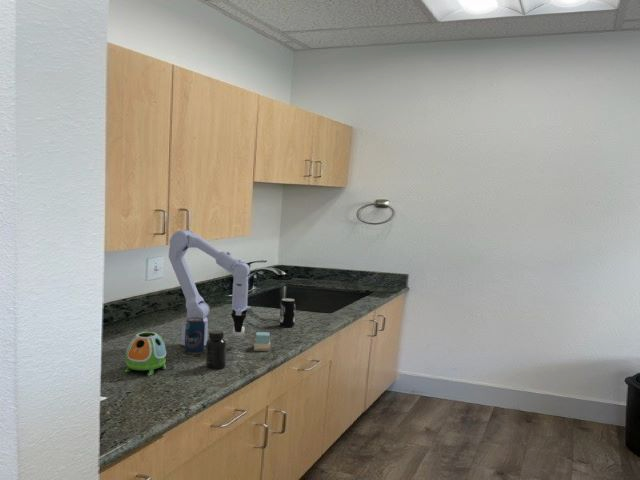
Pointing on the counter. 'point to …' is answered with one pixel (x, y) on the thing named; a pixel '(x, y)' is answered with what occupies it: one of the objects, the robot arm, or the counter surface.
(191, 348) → the soda can
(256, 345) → the beech block
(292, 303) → the beverage can
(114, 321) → the counter surface
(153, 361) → the turtle holder
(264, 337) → the teal block
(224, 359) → the supplement bottle
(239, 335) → the stoneware puck
